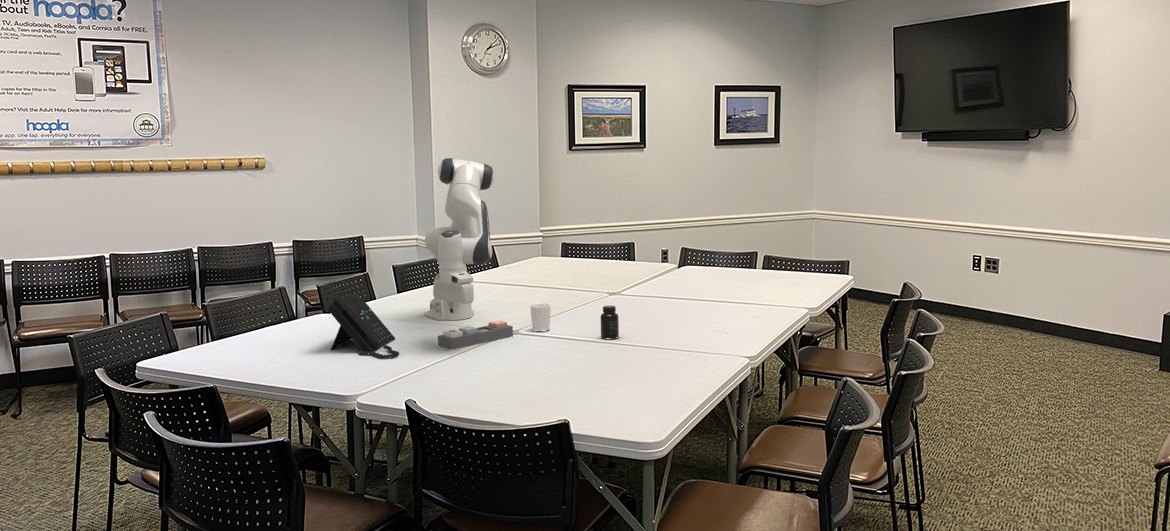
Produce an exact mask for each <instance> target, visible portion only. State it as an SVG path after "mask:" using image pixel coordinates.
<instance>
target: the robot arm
mask: <svg viewBox="0 0 1170 531" xmlns="http://www.w3.org/2000/svg"><path fill="white" fill-rule="evenodd" d="M437 174H438V179H439V180H440V183H443V184H445V185H447V186H449V187H448V189H447V190H448V191H447V195H446V201H445V205H444V213H445V214H446V216H447V217H448V218H449V219H451V225H450V226H443V227H436V228H434V229H431V230H429V231H428V232H427V233H426V234H425V236H424V237H425V238H424V245H425V248H426V249H427V250H428V251H429V252H430V253H431V254H432V255H433V256H434V257H435V259H436V261H437V263H438V266H439V268H438V271H439V273H437V274H436V275H435V276H434V281H433V286H432V287H433V288H432V289H433V290H432V292H433V293H432V295H433V298H432V300H430V302H429V311H426V312H424V316H426V317H428V318H431V319H433V320H436V321H457V320H458V321H459V320H466V319H469V318H472V317H473V315H474V314H475V312H474V311H473V310H472V303H473V302H474V299H475V296H474V295H475V294H474V293H475V292H474V291H475V290H474V285H473V283H472V282H474V276H473V275H472V274H470V273H469V272H468V268H467V265H481V266H484V265H486V264H487V263H489V262H490V260H492V256H493V247H492V243H491V242H492V241H491V233H490V222H489V212H488V207H487V204H486V202H485V201H484V200H482V199H481V197H480V196H481V194H480V193H481V191H486V190H488V189H490V188H491V186H492V185H493V182H494V178H495V174H494V169H493V167H492V166H491V165H488V164H487V163H481V162H477V161H473V160H466V159H458V158H457V159H456V158H455V159H454V158H451V157H447V158H444V159H442V160H441V162H440V164H439V165H438V170H437ZM472 218H474V219H476V220H477V221H476V222H477V228H476V227H475V226H474V224H473V219H472Z"/></svg>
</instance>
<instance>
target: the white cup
mask: <svg viewBox="0 0 1170 531" xmlns="http://www.w3.org/2000/svg"><path fill="white" fill-rule="evenodd" d="M551 308H552V307H551V304H549V303H533V304H531V305H530V316H531V318H530V319H531V325H532V331H533V330H537V331H542V330H548V329H549V328H550V326H551ZM550 329H551V328H550ZM550 329H549V330H550Z"/></svg>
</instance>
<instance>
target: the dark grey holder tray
mask: <svg viewBox="0 0 1170 531" xmlns="http://www.w3.org/2000/svg"><path fill="white" fill-rule="evenodd" d="M477 328H478V333H474V334H469V335H465V334H463V336H460V337H455V338H448V337H445V336H443V334H440V335H437V346H440V347H439V348H442V347H443V348H442V349H446V348H447V349H446V350H449V349H450V350H449V351H452V350H451V349H453V350H457V348H458V349H461V347H462V348H465V347H466V346H467V347H471V346H475V344H476V345H480V344H484V343H488V342H493V341H498V340H503V339H506V338H507V339H508V338H511V336H512V337H513V336H514V332H513V331H514V330H513V329H514V328H513V325H510V324H507V327H503V328H498V329H496V328H492V327H489V324H488V325H484V326H479V327H477ZM484 329H485V330H488V331H483V332H481V331H479V330H484Z"/></svg>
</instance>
